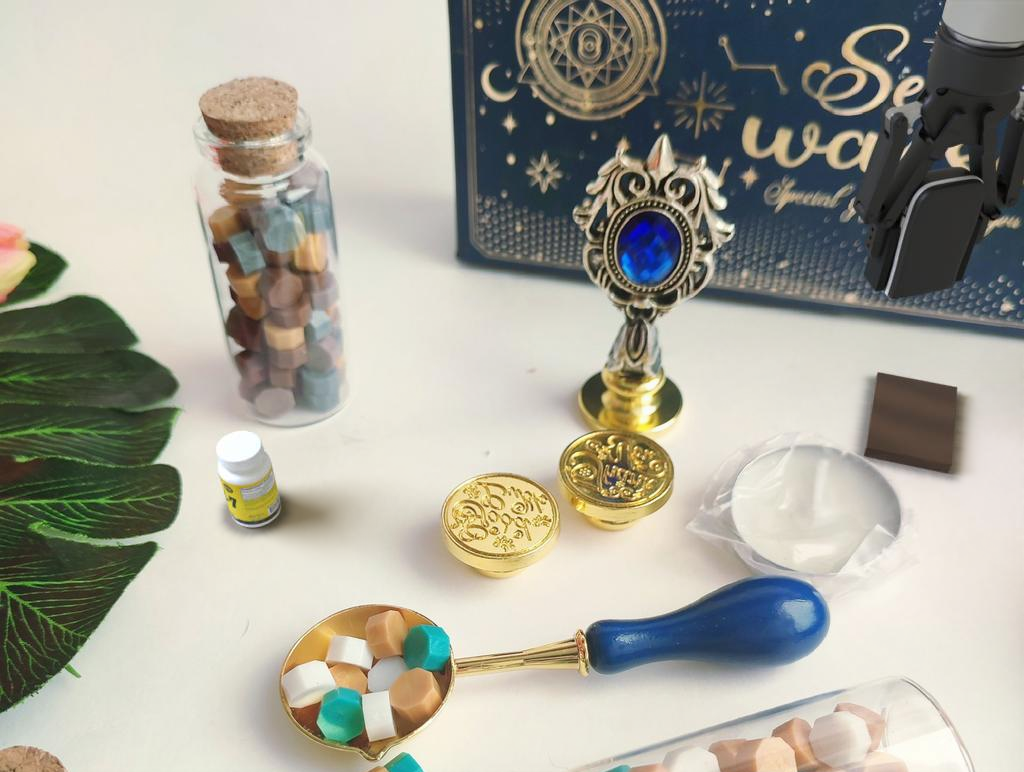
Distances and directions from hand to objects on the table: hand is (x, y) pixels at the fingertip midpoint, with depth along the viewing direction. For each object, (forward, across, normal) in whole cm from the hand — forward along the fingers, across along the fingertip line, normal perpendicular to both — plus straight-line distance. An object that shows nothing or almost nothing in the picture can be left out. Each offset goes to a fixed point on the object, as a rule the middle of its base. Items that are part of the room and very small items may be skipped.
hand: (912, 277), depth 100 cm
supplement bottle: (+15, +63, +4) cm, 65 cm away
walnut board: (+15, -2, +4) cm, 16 cm away
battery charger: (+1, 0, 0) cm, 1 cm away
